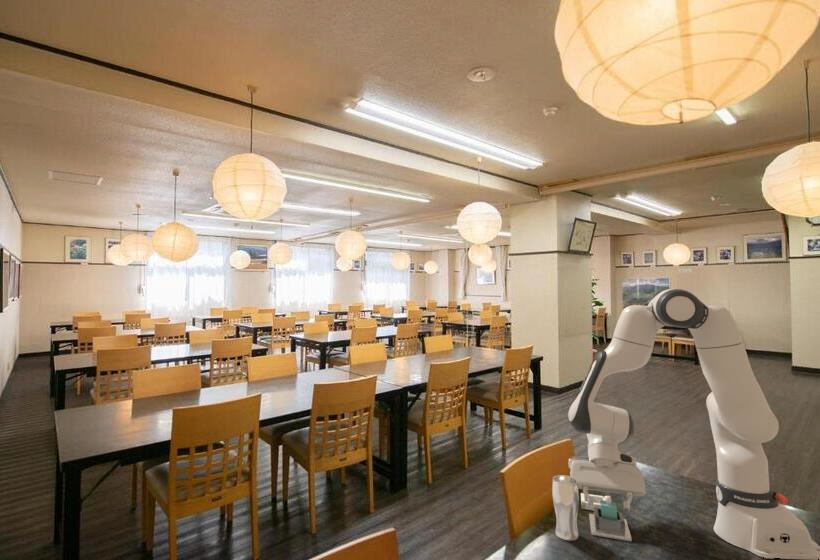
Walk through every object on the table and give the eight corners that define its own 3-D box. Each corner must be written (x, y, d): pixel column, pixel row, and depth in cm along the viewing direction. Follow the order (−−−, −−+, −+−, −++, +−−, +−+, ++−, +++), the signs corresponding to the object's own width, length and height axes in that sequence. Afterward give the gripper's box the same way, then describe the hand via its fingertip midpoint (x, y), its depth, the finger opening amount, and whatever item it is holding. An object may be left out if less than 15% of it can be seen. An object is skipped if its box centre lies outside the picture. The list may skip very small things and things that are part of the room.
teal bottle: (616, 523, 117) (615, 495, 118) (617, 529, 115) (616, 500, 115) (601, 521, 119) (600, 493, 119) (602, 526, 116) (600, 497, 116)
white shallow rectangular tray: (606, 502, 132) (605, 496, 132) (608, 512, 125) (607, 506, 126) (581, 499, 134) (580, 493, 134) (581, 508, 128) (581, 502, 128)
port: (626, 522, 120) (625, 508, 120) (631, 541, 110) (630, 526, 111) (589, 516, 123) (588, 503, 123) (591, 534, 114) (590, 520, 114)
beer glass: (582, 543, 110) (580, 486, 111) (555, 540, 111) (553, 484, 112) (577, 528, 117) (575, 475, 118) (552, 526, 118) (550, 473, 119)
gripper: (567, 450, 128) (569, 497, 118) (641, 458, 121) (649, 508, 111) (568, 460, 132) (569, 505, 122) (639, 468, 125) (647, 516, 115)
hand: (608, 506), depth 116 cm, fingers open, 8 cm apart
